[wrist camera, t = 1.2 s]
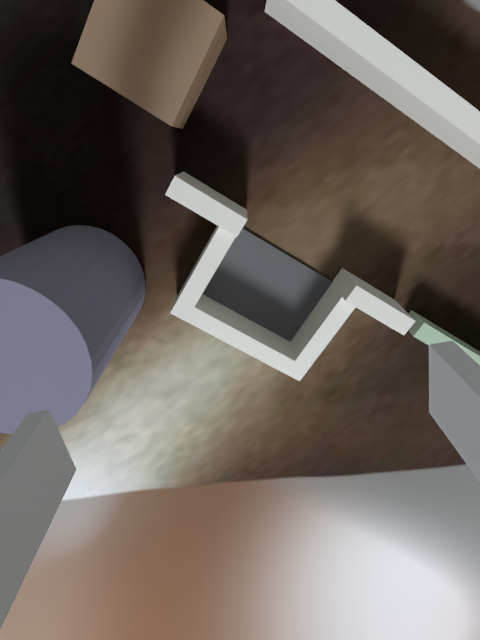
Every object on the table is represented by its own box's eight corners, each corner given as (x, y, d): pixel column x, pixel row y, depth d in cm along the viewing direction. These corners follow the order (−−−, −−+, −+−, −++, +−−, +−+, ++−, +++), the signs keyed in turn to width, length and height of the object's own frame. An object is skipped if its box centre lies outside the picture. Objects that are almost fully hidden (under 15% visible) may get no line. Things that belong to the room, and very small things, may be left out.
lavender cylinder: (160, 248, 36) (110, 313, 22) (130, 346, 40) (73, 453, 26) (42, 206, 35) (-88, 247, 21) (23, 312, 39) (-97, 406, 25)
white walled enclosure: (132, 272, 37) (116, 290, 32) (275, -11, 29) (282, -40, 24) (331, 379, 41) (342, 409, 37) (504, 160, 33) (546, 163, 29)
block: (101, 77, 31) (71, 63, 26) (140, -22, 29) (116, -62, 23) (183, 129, 32) (171, 126, 27) (227, 38, 30) (224, 15, 25)
